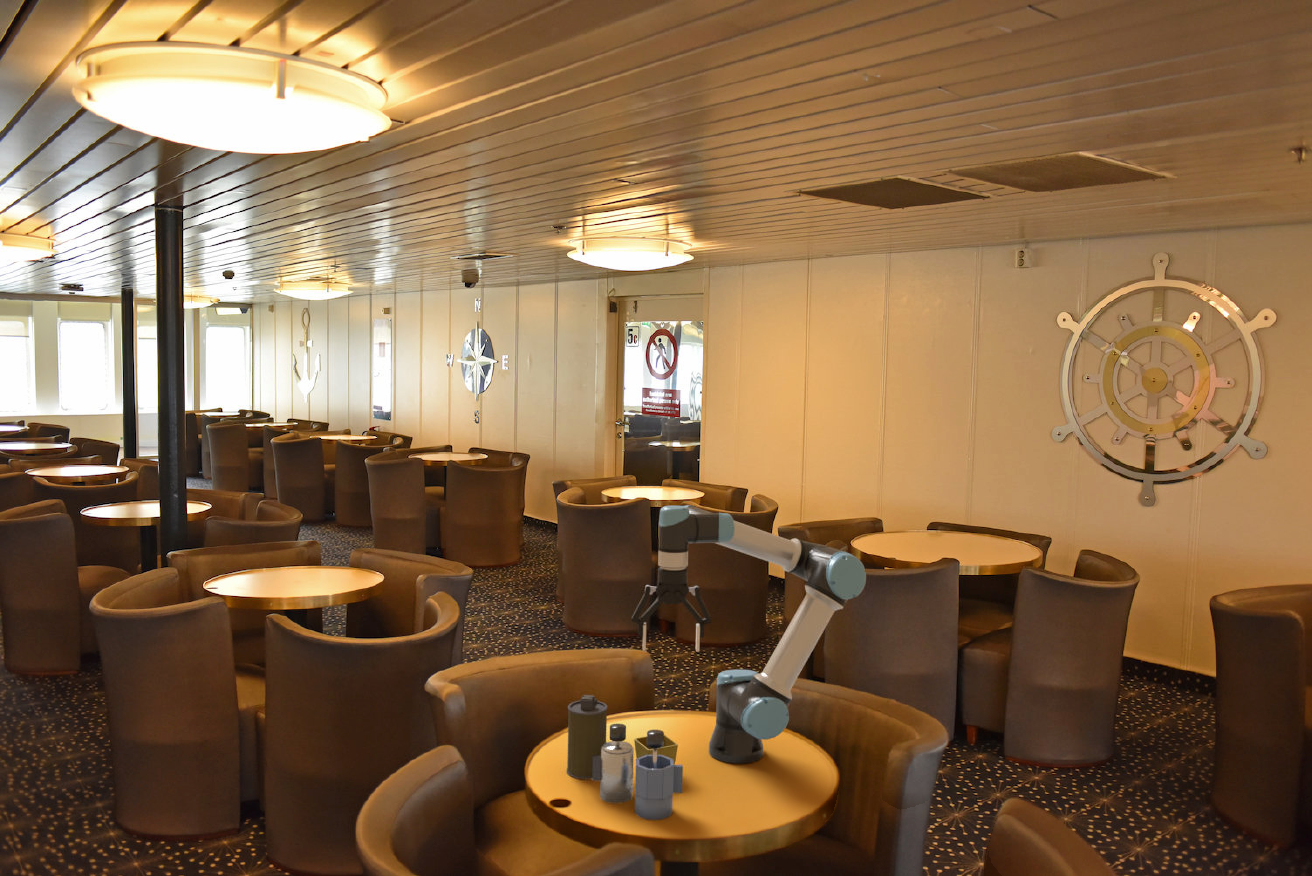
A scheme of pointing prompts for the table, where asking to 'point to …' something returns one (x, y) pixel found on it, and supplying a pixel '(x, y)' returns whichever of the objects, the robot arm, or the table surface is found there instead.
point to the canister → (585, 735)
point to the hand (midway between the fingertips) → (670, 649)
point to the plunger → (655, 743)
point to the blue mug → (656, 786)
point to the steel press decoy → (615, 767)
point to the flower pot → (666, 750)
